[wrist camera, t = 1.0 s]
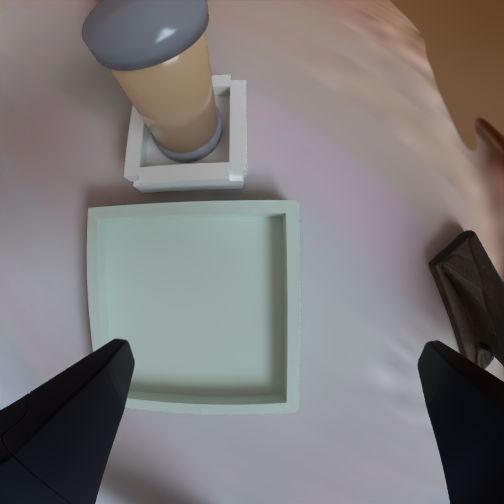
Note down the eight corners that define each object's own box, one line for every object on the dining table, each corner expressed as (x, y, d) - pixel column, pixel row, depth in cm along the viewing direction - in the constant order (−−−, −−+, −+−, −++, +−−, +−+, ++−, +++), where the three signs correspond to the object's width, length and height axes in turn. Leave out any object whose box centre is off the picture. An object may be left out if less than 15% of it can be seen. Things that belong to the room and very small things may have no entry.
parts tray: (293, 399, 19) (298, 411, 17) (112, 393, 18) (101, 403, 16) (292, 206, 19) (298, 200, 17) (101, 212, 19) (88, 207, 17)
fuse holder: (246, 191, 19) (247, 178, 16) (140, 196, 19) (123, 184, 16) (245, 98, 20) (245, 74, 16) (148, 104, 19) (136, 83, 16)
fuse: (221, 161, 17) (200, 38, 6) (153, 165, 17) (66, 64, 6) (223, 101, 18) (211, -31, 7) (159, 106, 17) (101, -11, 6)
